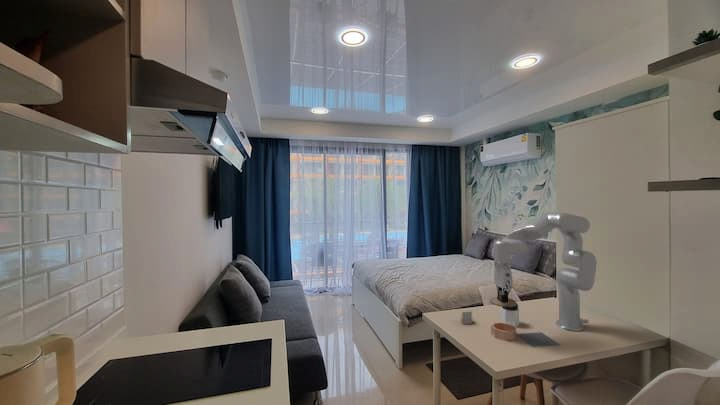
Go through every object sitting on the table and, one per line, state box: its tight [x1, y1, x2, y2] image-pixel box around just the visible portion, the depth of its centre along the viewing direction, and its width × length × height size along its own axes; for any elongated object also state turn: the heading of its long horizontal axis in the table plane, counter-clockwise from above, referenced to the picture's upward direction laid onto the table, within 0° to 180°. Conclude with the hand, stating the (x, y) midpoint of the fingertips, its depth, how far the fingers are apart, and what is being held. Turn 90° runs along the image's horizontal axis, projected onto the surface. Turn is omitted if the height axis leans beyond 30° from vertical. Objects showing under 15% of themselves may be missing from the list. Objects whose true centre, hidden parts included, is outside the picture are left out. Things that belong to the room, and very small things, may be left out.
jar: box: [500, 302, 520, 328], centre depth 171 cm, size 9×8×12 cm
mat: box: [516, 331, 561, 348], centre depth 153 cm, size 14×14×1 cm
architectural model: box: [459, 310, 474, 325], centre depth 176 cm, size 3×7×7 cm, turn 96°
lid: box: [489, 290, 517, 308], centre depth 157 cm, size 12×12×6 cm
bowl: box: [490, 321, 517, 342], centre depth 158 cm, size 11×11×5 cm
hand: (502, 300), depth 157 cm, fingers closed on lid, 3 cm apart
